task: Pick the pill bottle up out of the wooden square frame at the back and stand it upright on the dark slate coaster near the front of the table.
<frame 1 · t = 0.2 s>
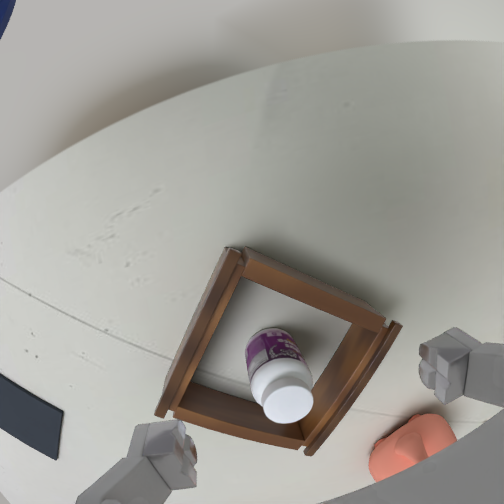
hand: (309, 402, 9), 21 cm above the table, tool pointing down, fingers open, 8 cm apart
teapot: (401, 437, 38), on the table
coaster: (23, 417, 31), on the table
pill bottle: (269, 348, 32), resting in wooden square frame
wooden square frame: (270, 349, 32), on the table
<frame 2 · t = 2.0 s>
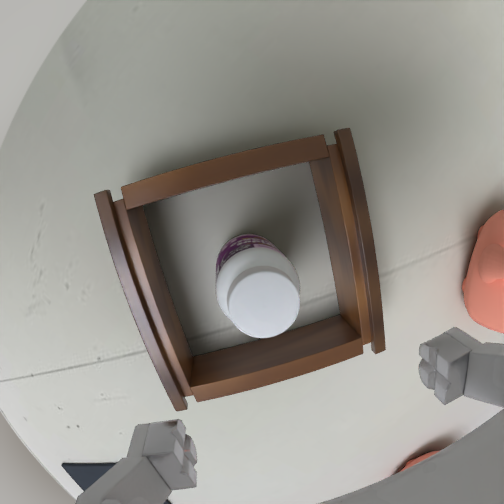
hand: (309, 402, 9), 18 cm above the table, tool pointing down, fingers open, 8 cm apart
teapot: (485, 263, 30), on the table
coaster: (118, 489, 31), on the table
pill bottle: (247, 263, 27), resting in wooden square frame
wooden square frame: (247, 264, 27), on the table
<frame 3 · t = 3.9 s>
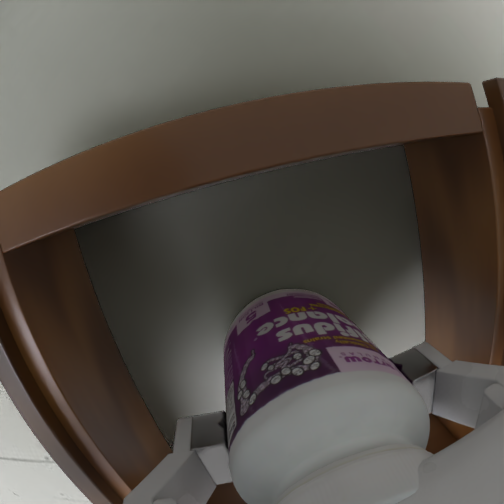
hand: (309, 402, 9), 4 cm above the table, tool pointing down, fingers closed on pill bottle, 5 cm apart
pill bottle: (284, 341, 13), resting in wooden square frame, touching gripper
wooden square frame: (285, 343, 13), on the table
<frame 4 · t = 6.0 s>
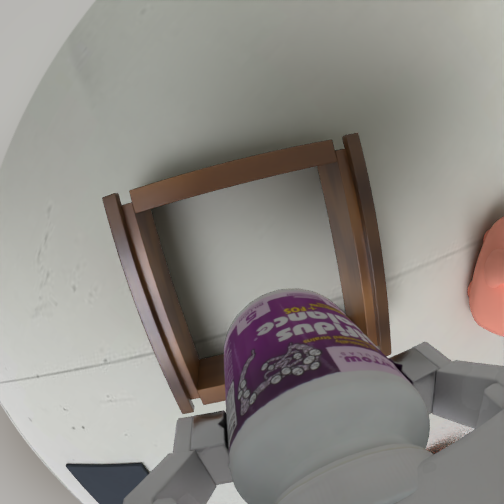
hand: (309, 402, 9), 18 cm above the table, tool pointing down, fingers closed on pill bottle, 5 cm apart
teapot: (490, 268, 30), on the table
coaster: (122, 490, 31), on the table
pill bottle: (284, 341, 13), point 14 cm above the table, touching gripper
wooden square frame: (255, 268, 27), on the table
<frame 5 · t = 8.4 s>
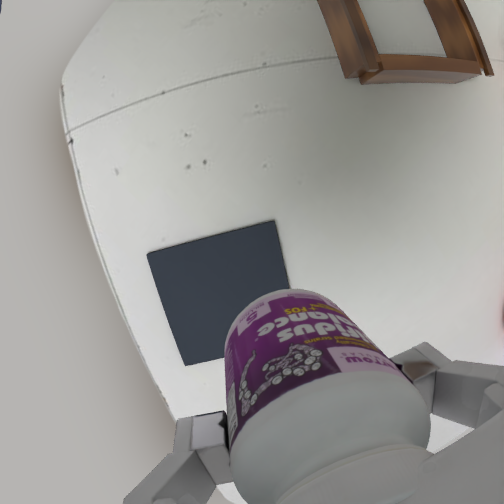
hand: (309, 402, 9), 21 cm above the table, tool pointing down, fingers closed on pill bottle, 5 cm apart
coaster: (226, 297, 30), on the table
pill bottle: (285, 341, 13), point 17 cm above the table, touching gripper
wooden square frame: (390, 17, 26), on the table
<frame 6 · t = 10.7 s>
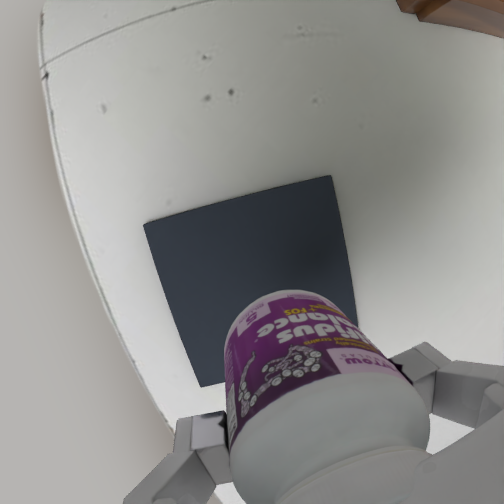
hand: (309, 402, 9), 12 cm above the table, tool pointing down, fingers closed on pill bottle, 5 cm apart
coaster: (261, 288, 21), on the table
pill bottle: (285, 342, 13), point 8 cm above the table, touching gripper
when the fingers open (5 cm above the table, at t = 12.8 s): pill bottle stays where it is, resting on coaster.
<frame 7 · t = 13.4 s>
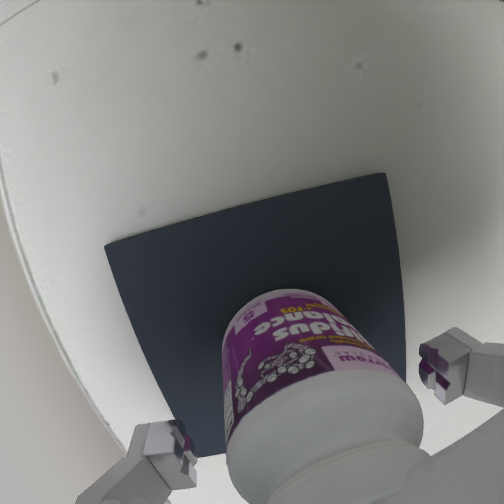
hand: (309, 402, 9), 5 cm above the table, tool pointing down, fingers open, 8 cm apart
coaster: (281, 337, 14), on the table
pill bottle: (282, 340, 14), resting on coaster
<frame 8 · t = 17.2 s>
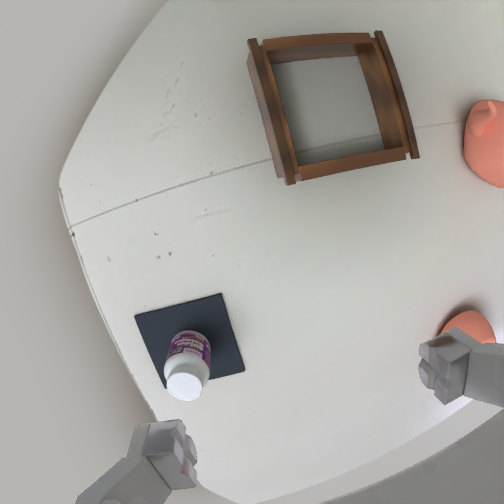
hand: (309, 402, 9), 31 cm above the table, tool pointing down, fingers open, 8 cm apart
teapot: (477, 143, 41), on the table
coaster: (190, 344, 41), on the table
pill bottle: (190, 345, 41), resting on coaster
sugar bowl: (455, 337, 47), on the table
wooden square frame: (326, 106, 37), on the table
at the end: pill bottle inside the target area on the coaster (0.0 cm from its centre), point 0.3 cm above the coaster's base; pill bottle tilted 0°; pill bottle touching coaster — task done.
